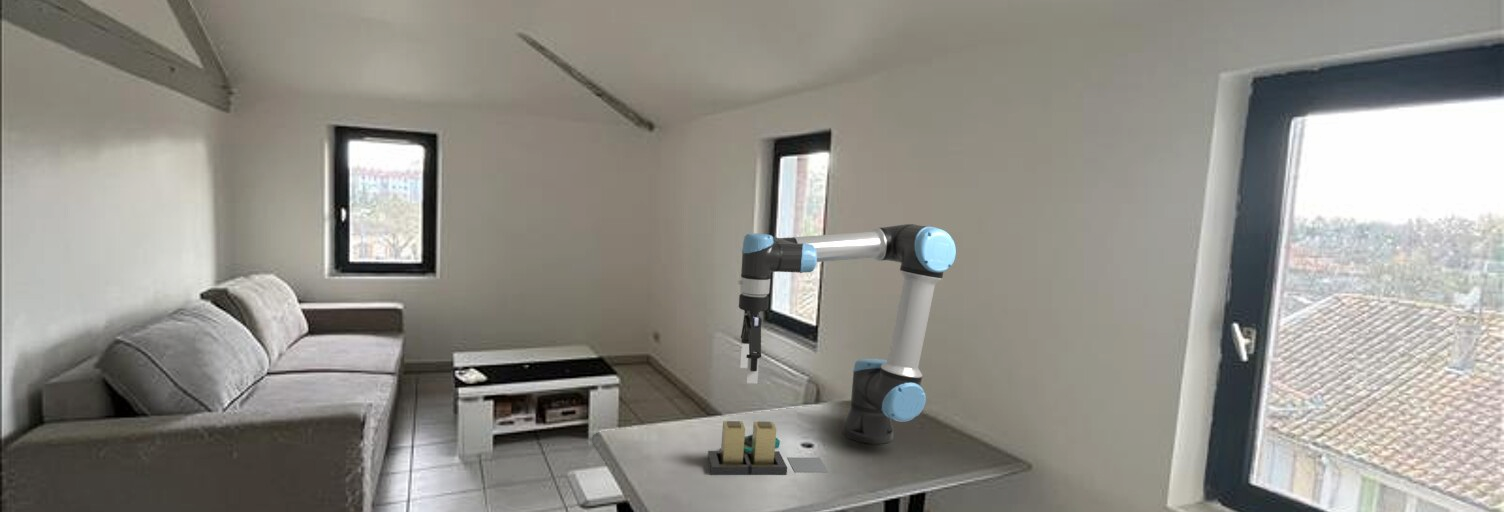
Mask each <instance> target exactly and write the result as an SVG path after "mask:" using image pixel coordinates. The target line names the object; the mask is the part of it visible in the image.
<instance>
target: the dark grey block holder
mask: <svg viewBox="0 0 1504 512" xmlns="http://www.w3.org/2000/svg"><path fill="white" fill-rule="evenodd" d="M720 457H721V450H707V462H708V466H709V470H710V475H711V476H787V475H788V474H787V473H788V466H787V464H786V462H785V460H784V458H783V456H782V454H781V453H780V451H777V450H775V452H774V464H773V465H751V451H749V452H743V465H721V464H720Z"/></svg>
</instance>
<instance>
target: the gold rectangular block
mask: <svg viewBox="0 0 1504 512" xmlns="http://www.w3.org/2000/svg"><path fill="white" fill-rule="evenodd" d="M721 431H722V432H721V443H720V446H721V447H720V451H721V457H720V464H721V465H743V452H744V439H745V437H746V427H745V425H744V423H743V421H740V420H739V421H738V420H726V421H725V420H722V430H721Z"/></svg>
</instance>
